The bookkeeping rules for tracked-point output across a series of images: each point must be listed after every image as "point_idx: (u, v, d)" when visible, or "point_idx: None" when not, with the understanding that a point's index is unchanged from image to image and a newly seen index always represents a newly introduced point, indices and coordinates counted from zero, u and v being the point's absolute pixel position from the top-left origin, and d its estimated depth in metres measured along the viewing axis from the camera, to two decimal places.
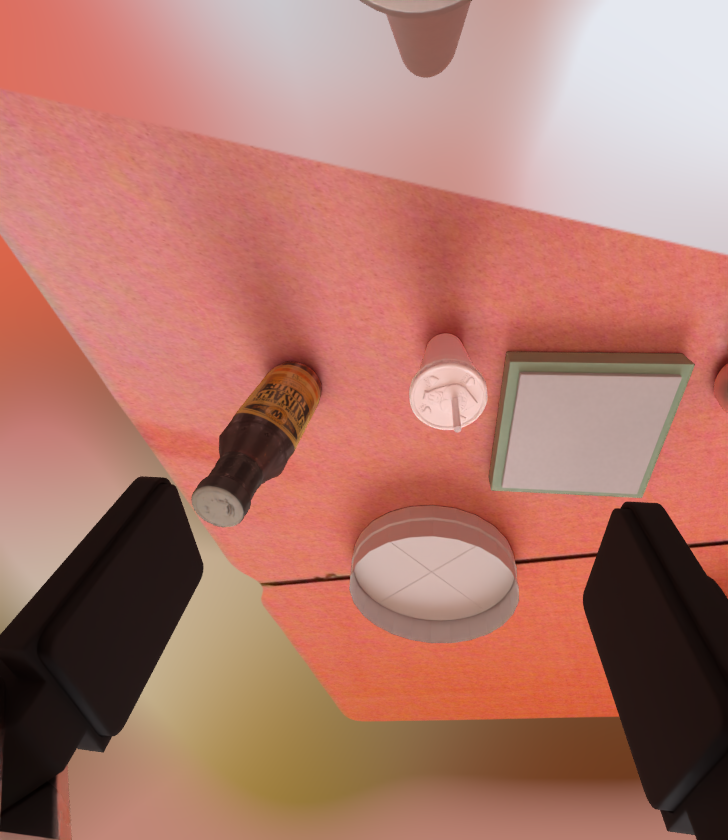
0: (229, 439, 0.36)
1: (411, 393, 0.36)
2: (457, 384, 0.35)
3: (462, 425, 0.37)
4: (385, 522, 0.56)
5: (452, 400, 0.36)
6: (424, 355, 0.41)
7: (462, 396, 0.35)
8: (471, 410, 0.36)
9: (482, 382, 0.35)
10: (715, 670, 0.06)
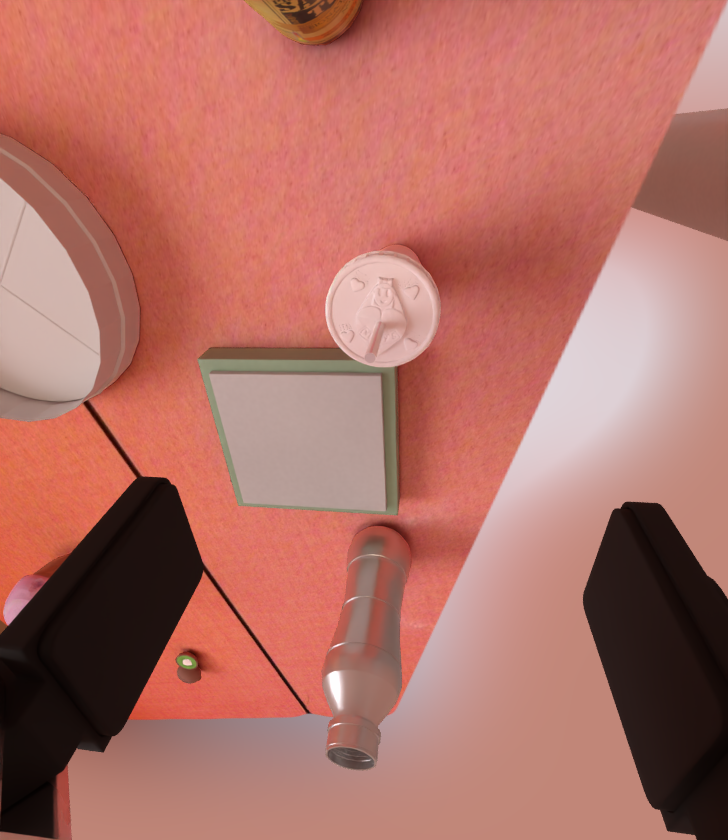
0: None
1: (387, 258, 0.22)
2: (404, 327, 0.24)
3: (337, 339, 0.25)
4: (65, 193, 0.31)
5: (382, 324, 0.24)
6: (407, 252, 0.28)
7: (387, 336, 0.24)
8: (363, 348, 0.25)
9: (410, 359, 0.25)
10: (715, 670, 0.06)
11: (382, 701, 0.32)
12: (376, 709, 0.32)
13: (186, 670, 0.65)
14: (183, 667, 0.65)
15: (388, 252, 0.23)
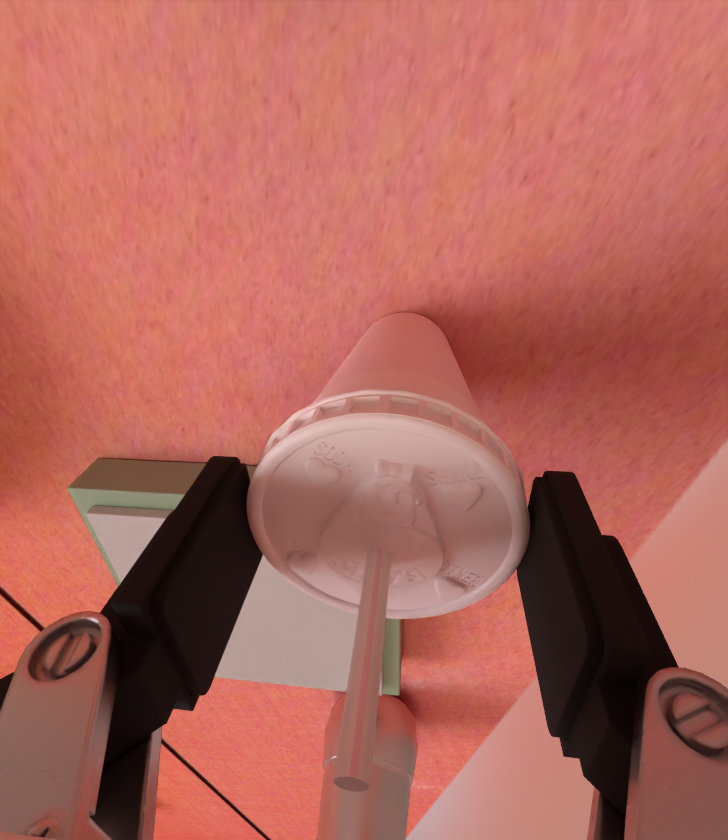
0: None
1: (401, 422, 0.08)
2: (438, 557, 0.10)
3: (279, 567, 0.11)
4: None
5: (384, 559, 0.10)
6: (433, 345, 0.14)
7: (397, 575, 0.10)
8: (340, 585, 0.11)
9: (446, 612, 0.11)
10: (588, 605, 0.06)
11: None
12: None
13: None
14: None
15: (403, 396, 0.09)
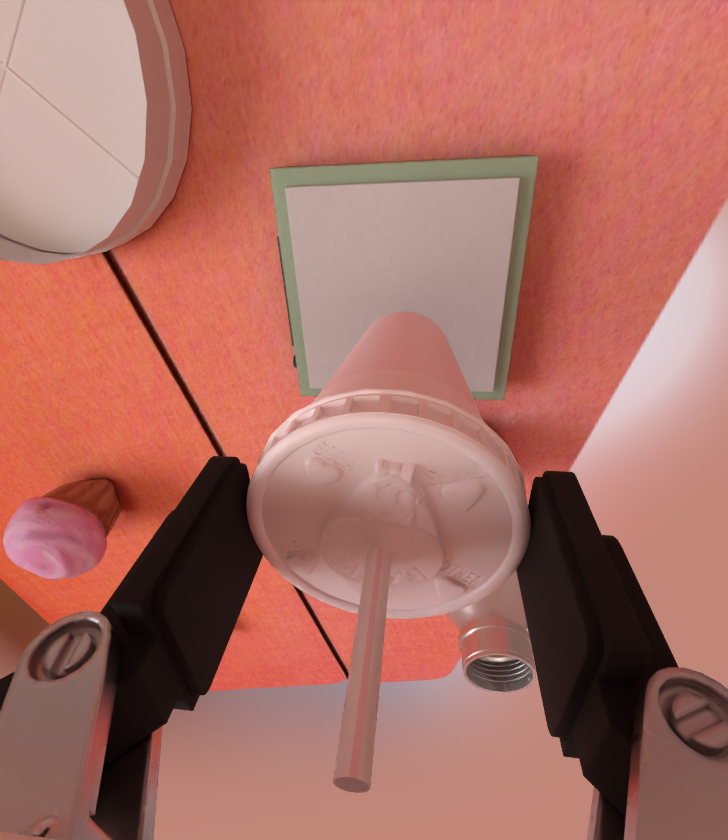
0: None
1: (402, 422, 0.08)
2: (439, 557, 0.10)
3: (279, 566, 0.11)
4: None
5: (384, 559, 0.10)
6: (433, 344, 0.14)
7: (397, 575, 0.10)
8: (340, 585, 0.11)
9: (446, 612, 0.11)
10: (588, 605, 0.06)
11: None
12: (523, 612, 0.24)
13: None
14: None
15: (403, 395, 0.09)
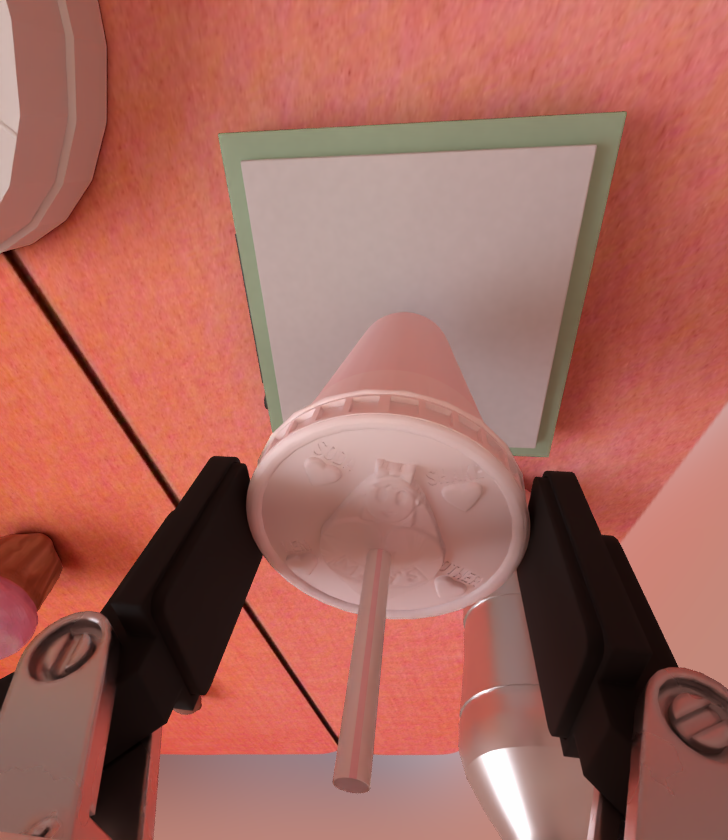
0: None
1: (401, 422, 0.08)
2: (439, 557, 0.10)
3: (279, 567, 0.11)
4: None
5: (384, 559, 0.10)
6: (433, 344, 0.14)
7: (397, 575, 0.10)
8: (339, 585, 0.11)
9: (446, 612, 0.11)
10: (588, 604, 0.06)
11: None
12: None
13: None
14: None
15: (403, 395, 0.09)
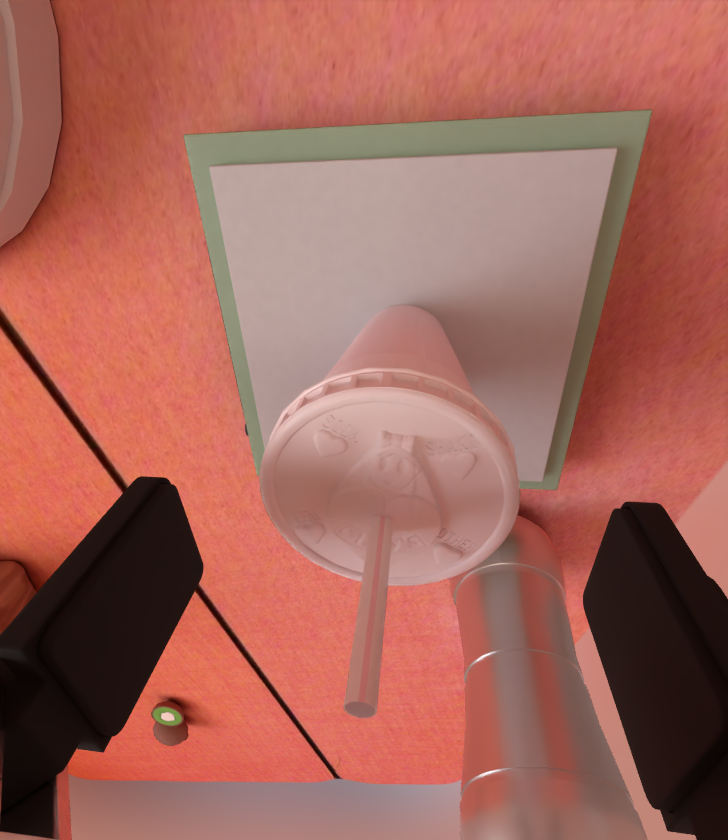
0: None
1: (403, 395, 0.09)
2: (437, 524, 0.11)
3: (289, 536, 0.12)
4: None
5: (386, 525, 0.10)
6: (431, 333, 0.15)
7: (398, 542, 0.11)
8: (345, 554, 0.12)
9: (444, 578, 0.12)
10: (715, 670, 0.06)
11: None
12: None
13: (167, 728, 0.45)
14: (162, 723, 0.45)
15: (404, 373, 0.10)
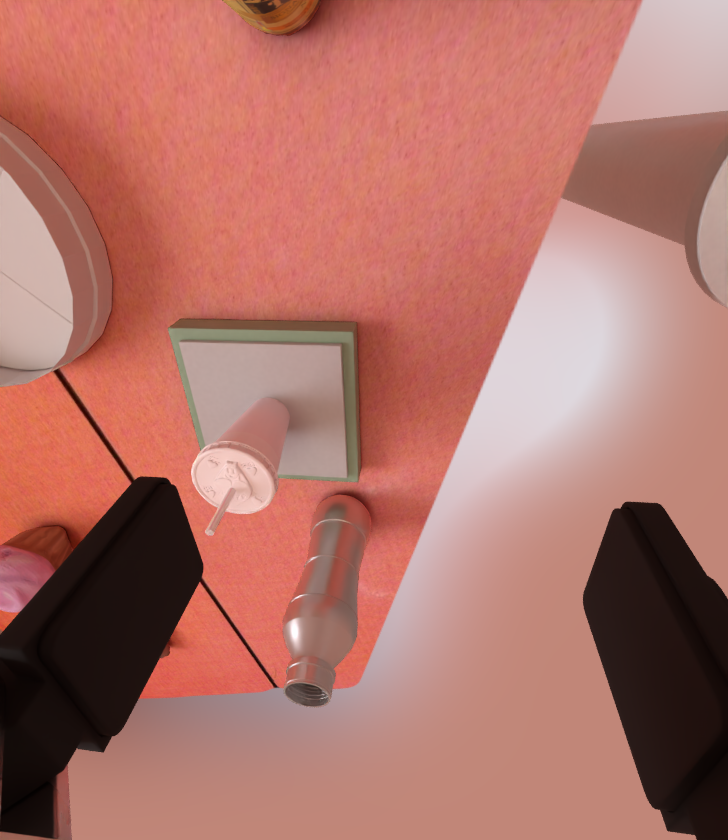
0: None
1: (230, 450, 0.31)
2: (251, 490, 0.33)
3: (203, 495, 0.33)
4: (41, 164, 0.32)
5: (232, 490, 0.32)
6: (267, 417, 0.36)
7: (238, 496, 0.33)
8: None
9: (258, 510, 0.34)
10: (715, 670, 0.06)
11: (337, 645, 0.35)
12: (332, 651, 0.35)
13: None
14: None
15: (234, 442, 0.31)
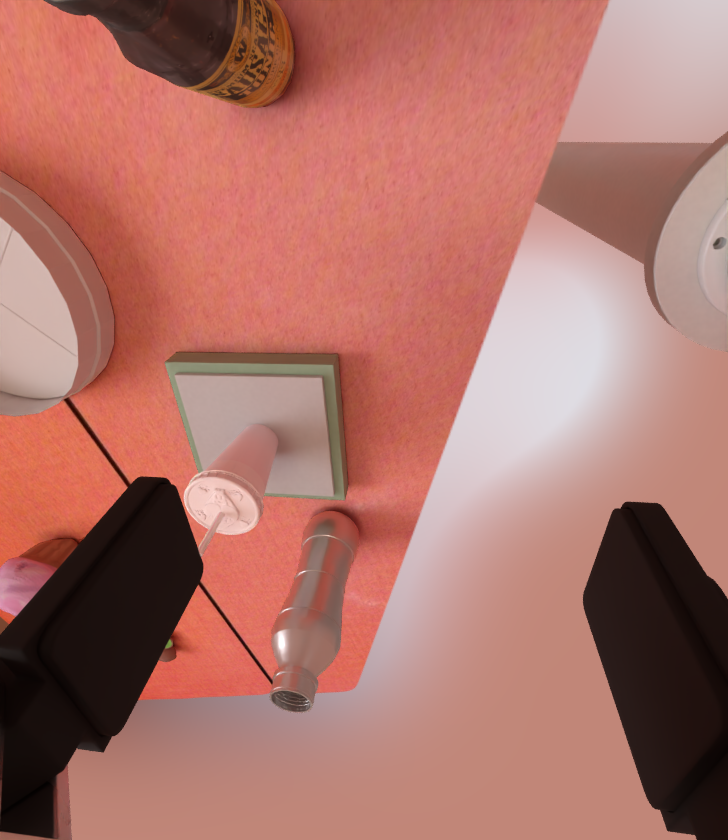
0: None
1: (218, 479, 0.34)
2: (238, 514, 0.36)
3: (195, 518, 0.36)
4: (47, 220, 0.36)
5: (221, 514, 0.35)
6: (254, 444, 0.39)
7: (227, 519, 0.36)
8: None
9: (245, 531, 0.37)
10: (715, 670, 0.06)
11: (320, 655, 0.38)
12: (315, 661, 0.37)
13: None
14: None
15: (221, 471, 0.34)
